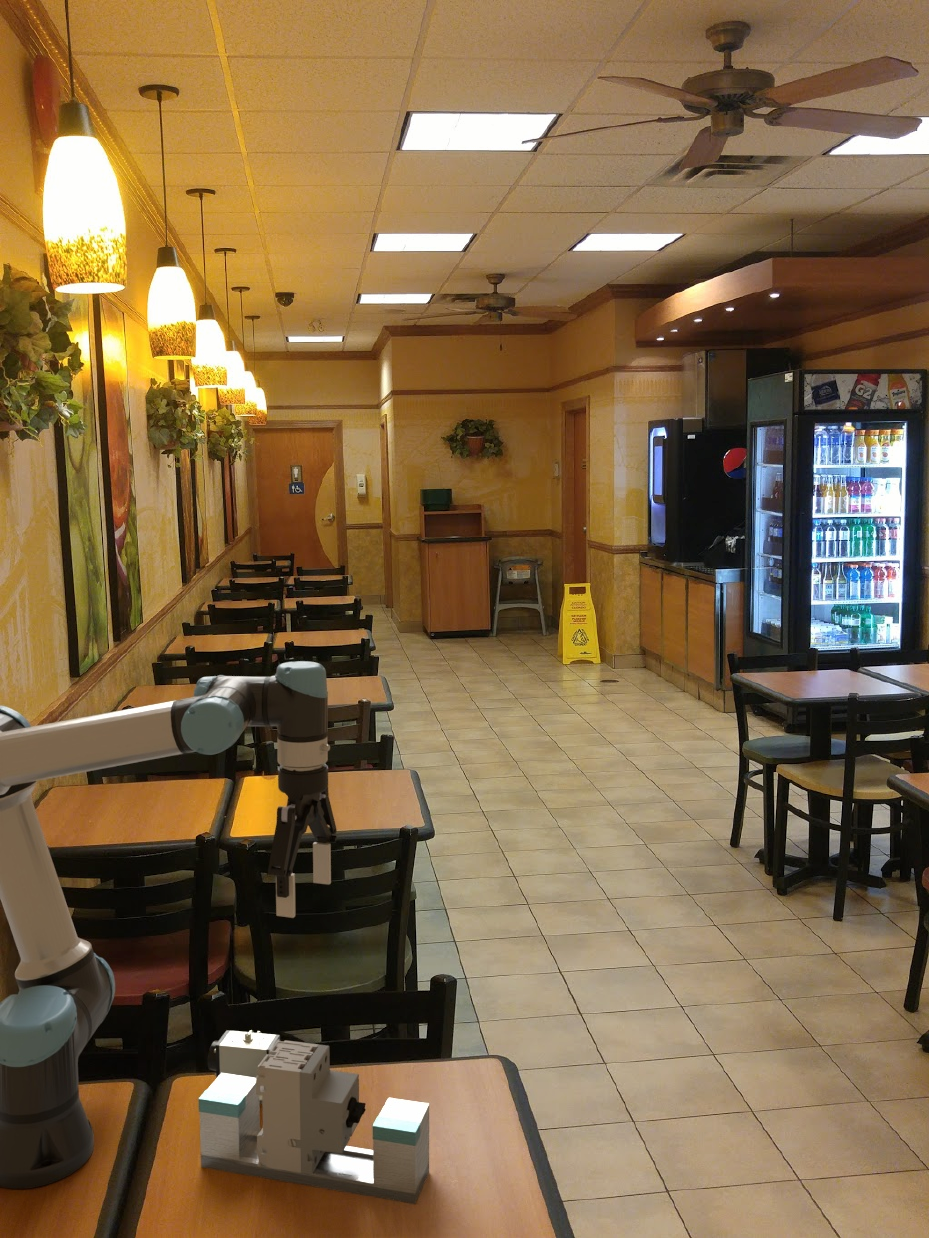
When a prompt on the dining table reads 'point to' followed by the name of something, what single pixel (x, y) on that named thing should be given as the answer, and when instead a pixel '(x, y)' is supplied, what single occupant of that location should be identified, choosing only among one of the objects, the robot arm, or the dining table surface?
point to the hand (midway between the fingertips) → (304, 898)
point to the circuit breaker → (304, 1106)
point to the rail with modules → (375, 1173)
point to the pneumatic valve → (240, 1053)
